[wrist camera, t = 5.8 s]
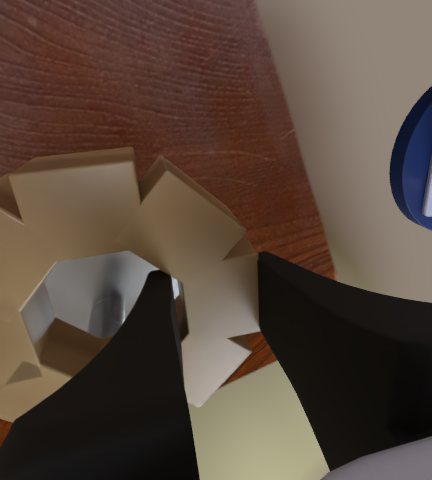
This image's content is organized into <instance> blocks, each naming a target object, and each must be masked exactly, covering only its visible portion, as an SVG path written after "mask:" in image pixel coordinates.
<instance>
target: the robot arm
mask: <svg viewBox="0 0 432 480" xmlns="http://www.w3.org/2000/svg"><path fill="white" fill-rule="evenodd" d="M422 214H423V215H425V216H429V217H430V216H432V154H431V159H430V165H429V171H428V177H427V183H426V188H425V194H424V200H423V206H422ZM258 254H259V260H257V267H258V300H259V328H260V330H261V332H262V334H263V336H264V337H265V339H266V341H267V343H268V344H269V346H270V348H271V350H272V351H273V353H274V355H275V356H276V358H277V360H278V361H279V363H280V365H281V367H282V368H283V370H284V372H285V373H286V375H287V377H288V378H289V380H290V382H291V384H292V386H293V388H294V390H295V391H296V393H297V396H298V398H299V400H300V402H301V404H302V407H303V409H304V411H305V413H306V415H307V418H308V420H309V422H310V424H311V427H312V429H313V431H314V434H315V436H316V439H317V441H318V443H319V446H320V448H321V450H322V452H323V455H324V457H325V460H326V462H327V465H328V467H329V470H330V472H328V473H327V474H326V475H325V476H324V477H323V478H322V479H321V480H432V303H428V302H421V301H414V300H408V299H402V298H398V297H393V296H388V295H383V294H379V293H375V292H370V291H367V290H363V289H360V288H356V287H353V286H349V285H346V284H343V283H340V282H337V281H335V280H332V279H329V278H327V277H324V276H321V275H319V274H316V273H314V272H311V271H309V270H307V269H304V268H302V267H300V266H298V265H296V264H293V263H291V262H289V261H287V260H285V259H282V258H280V257H278V256H276V255H273V254H271V253H268V252H260V253H258ZM0 480H200V479H199V472H198V465H197V458H196V452H195V446H194V439H193V432H192V426H191V420H190V414H189V409H188V403H187V397H186V392H185V387H184V374H183V360H182V346H181V339H180V332H179V326H178V319H177V312H176V305H175V299H174V292H173V285H172V278H171V275H168V274H166V273H165V272H163V271H161V270H154V271H150V272H149V273H148V275H147V278H146V281H145V283H144V286H143V288H142V290H141V293H140V295H139V297H138V298H137V300H136V302H135V304H134V306H133V308H132V309H131V311H130V313H129V314H128V316H127V317H126V319H125V321H124V322H123V324H122V325H121V327H120V328H119V329H118V331H117V332H116V333H115V335H114V336H113V337H112V338H111V340H110V341H109V342H108V343H107V345H106V346H105V347H104V348H103V349H102V350H101V351H100V352H99V353H98V354H97V355H96V356H95V357H94V358H93V359H92V360H91V361H90V362H89V363H88V364H87V365H86V366H85V367H84V368H83V369H82V370H81V371H79V372H78V373H77V374H76V375H75V376H74V377H73V378H71V379H70V380H69V381H68V382H66V383H65V384H64V385H63V386H62V387H60V388H59V389H58V390H56V391H55V392H54V393H53V394H51V395H50V396H48V397H47V398H46V399H44V400H43V401H41V402H40V403H38V404H37V405H36V406H34V407H33V408H31V409H30V410H29V411H27V412H26V413H24V414H23V415H21V416H20V417H18V418H17V419H15V420H14V422H13V424H12V426H11V429H10V431H9V433H8V434H7V436H6V438H5V440H4V442H3V444H2V446H1V449H0Z"/></svg>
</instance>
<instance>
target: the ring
mask: <svg viewBox="0 0 432 480" xmlns="http://www.w3.org/2000/svg"><path fill="white" fill-rule="evenodd" d="M245 233H246V229H245V228H244V227H243V226H242V224H241V223H240V222H239V221H238V220H237V218H236V217H235V216H234V215H233V214H232V212H231V211H230V210H229V209H228V207H227V206H226V205H224V204H223V203H222V202H221V201H219V200H218V199H217V198H215V197H214V196H213V195H212V194H210V193H209V192H208V191H206V190H205V189H204V188H203V187H201V186H200V185H199V184H198V183H196V182H195V181H194V180H192V179H191V178H190V177H189V176H187V175H186V174H185V173H183V172H182V171H181V170H180V169H178V168H177V167H176V166H175V165H173V164H172V163H171V162H169V161H168V160H167V159H166V158H164V157H163V156H162V155H159V156H158V158H157V159H156V160H155V162H154V163H153V164H152V165H151V167H150V168H149V169H148V171H147V172H146V173H145V175H144V176H143V177H142V179H141V180H140V181H139V178H138V172H137V166H136V160H135V154H134V149H133V147H125V148H116V149H106V150H97V151H88V152H79V153H70V154H61V155H52V156H43V157H35V158H33V159H31V160H30V161H29V162H27V163H26V164H24V165H23V166H21V167H20V168H18V169H17V170H15V171H14V172H12V173H11V174H6V175H4V176H2V177H1V178H0V419H3V420H6V421H10V422H14V420H15V419H17V418H18V417H20V416H21V415H23V414H24V413H26V412H27V411H29V410H30V409H31V408H33V407H34V406H36V405H37V404H38V403H40V402H41V401H43V400H44V399H46V398H47V397H48V396H50V395H51V394H53V393H54V392H55V391H56V390H58V389H59V388H60V387H62V386H63V385H64V384H65V383H66V382H68V381H69V380H70V379H71V378H73V377H74V376H75V375H76V374H77V373H78V372H79V371H81V370H82V369H83V368H84V367H85V366H86V365H87V364H88V363H89V362H90V361H91V360H92V359H93V358H94V357H95V356H96V355H97V354H98V353H99V352H100V351H101V350H102V349H103V348H104V347H105V346H106V345H107V343H108V342H109V341H110V340H111V338H112V337H113V336H110V337H105V338H98V337H96V336H94V335H92V334H90V333H88V332H86V331H84V330H81V329H79V328H77V327H75V326H73V325H71V324H69V323H67V322H64V321H62V320H60V319H58V318H56V317H55V314H54V311H53V308H52V305H51V302H50V299H49V295H48V292H47V289H46V286H45V283H44V280H45V279H46V278H47V276H48V275H49V274H50V272H51V271H52V270H53V268H54V267H55V266H56V264H57V263H58V262H60V261H66V260H72V259H79V258H85V257H91V256H97V255H104V254H110V253H116V252H122V251H128V250H129V251H130V252H132V253H134V254H135V255H137V256H138V257H140V258H142V259H143V260H145V261H147V262H148V263H150V264H152V265H153V266H155V267H156V268H158V269H160V270H161V271H163V272H165V273H166V274H168V275H171V277H173V278H174V279H176V280H177V283H178V290H179V295H178V296H177V297H176V298H175V305H176V312H177V319H178V326H179V332H180V339H181V346H182V360H183V374H184V387H185V392H186V397H187V403H188V404H190V405H193V406H195V407H197V408H200V407H201V406H202V405H203V404H204V403H205V402H206V401H207V400H208V399H209V398H210V396H211V395H212V394H213V393H214V392H215V391H216V390H217V389H218V388H219V387H220V386H221V385H222V384H223V382H224V381H225V380H226V379H227V378H228V377H229V376H230V375H231V374H232V373H233V372H234V371H235V370H236V368H237V367H238V366H239V365H240V364H241V363H242V362H243V361H244V360H245V359H246V358H247V357H248V356H249V355H250V353H251V352H252V350H251V348H250V346H249V344H248V342H247V340H246V338H245V334H249V333H254V332H259V331H261V330H260V328H259V300H258V267H257V260H259V254H258V253H257V252H256V250H255V249H254V248H253V246H252V245H251V244H250V243H249V241H248V240H247V239H246V237H245V236H244V234H245Z"/></svg>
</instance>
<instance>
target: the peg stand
mask: <svg viewBox="0 0 432 480" xmlns="http://www.w3.org/2000/svg"><path fill="white" fill-rule="evenodd" d="M154 270H160V269H158V268H156V267H155V266H153V265H152V264H150V263H148V262H147V261H145V260H143V259H142V258H140V257H138V256H137V255H135V254H134V253H132V252H130V251H129V250H128V251H122V252H116V253H110V254H104V255H97V256H91V257H85V258H79V259H72V260H66V261H60V262H58V263H57V264H56V266H55V267H54V268H53V270H52V271H51V272H50V274H49V275H48V276H47V278H46V279H45V280H44V283H45V286H46V289H47V292H48V295H49V299H50V302H51V305H52V308H53V311H54V314H55V317H56V318H58V319H60V320H62V321H64V322H67V323H69V324H71V325H73V326H75V327H77V328H79V329H81V330H84V331H86V332H88V333H90V334H92V335H94V336H96V337H98V338H105V337H110V336H114V335H115V333H116V332H117V331H118V329H119V328H120V327H121V325H122V324H123V322H124V321H125V319H126V317H127V316H128V314H129V313H130V311H131V309H132V308H133V306H134V304H135V302H136V300H137V298H138V297H139V295H140V293H141V290H142V288H143V286H144V283H145V281H146V278H147V275H148V273H149V272H150V271H154ZM171 278H172V285H173V292H174V299H175V298H176V297H177V296H178V295H179V290H178V283H177V280H176V279H174V278H173V277H171Z"/></svg>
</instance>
